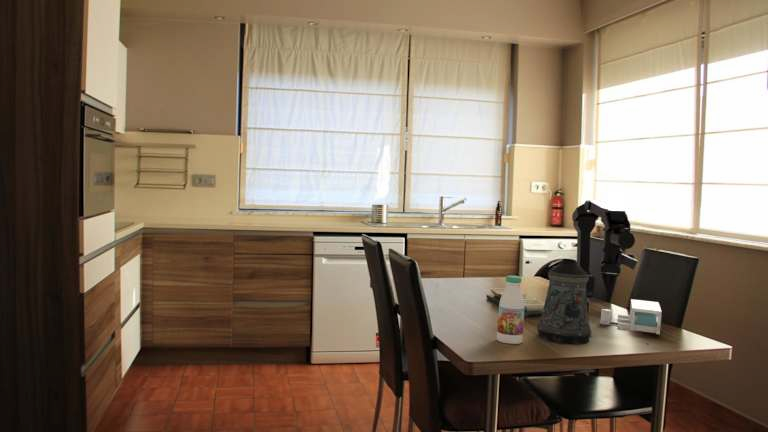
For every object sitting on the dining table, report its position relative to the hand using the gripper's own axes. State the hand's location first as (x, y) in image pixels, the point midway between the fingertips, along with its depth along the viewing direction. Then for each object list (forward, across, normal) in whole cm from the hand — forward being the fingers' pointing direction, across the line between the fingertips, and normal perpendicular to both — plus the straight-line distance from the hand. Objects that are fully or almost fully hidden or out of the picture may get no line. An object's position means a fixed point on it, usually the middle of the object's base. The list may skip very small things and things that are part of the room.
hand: (608, 290), depth 217 cm
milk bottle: (+13, -37, +28) cm, 48 cm away
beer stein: (+13, -22, +14) cm, 29 cm away
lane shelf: (+13, +3, -6) cm, 15 cm away
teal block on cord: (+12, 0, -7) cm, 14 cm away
